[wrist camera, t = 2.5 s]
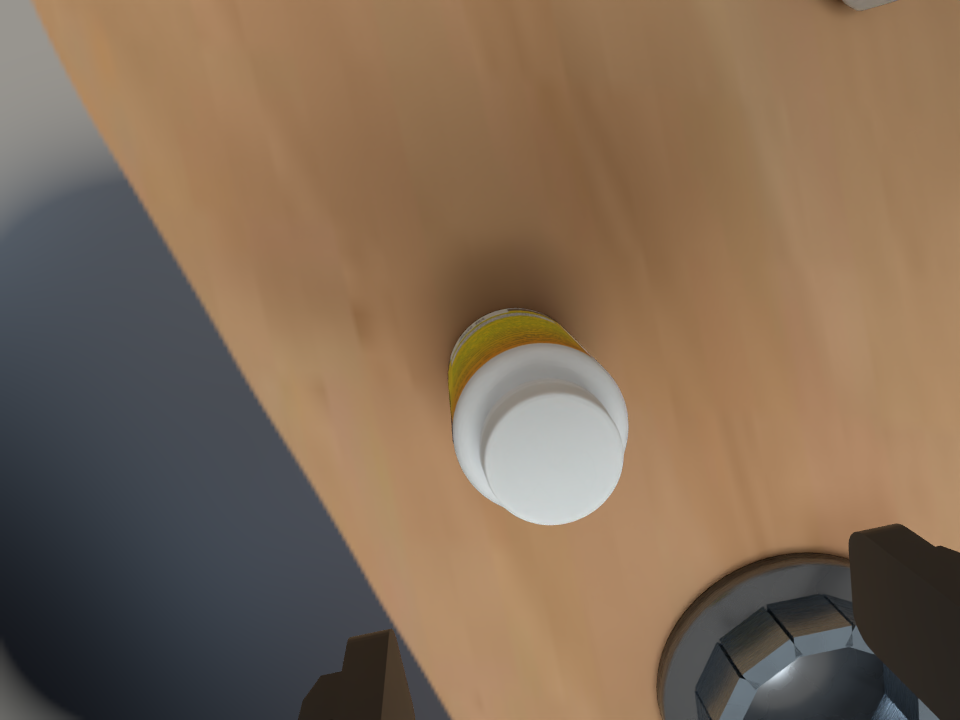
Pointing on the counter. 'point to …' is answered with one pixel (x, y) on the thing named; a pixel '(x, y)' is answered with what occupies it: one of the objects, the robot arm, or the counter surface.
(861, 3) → the stereo radio cassette player
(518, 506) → the supplement bottle
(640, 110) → the counter surface
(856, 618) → the robot arm
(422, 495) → the counter surface
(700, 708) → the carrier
